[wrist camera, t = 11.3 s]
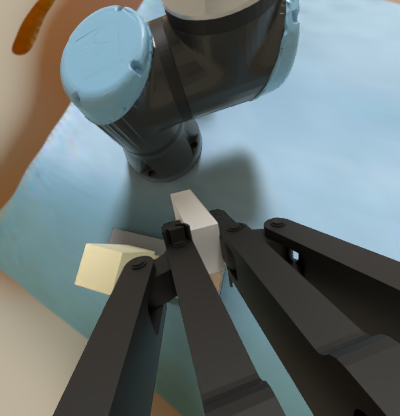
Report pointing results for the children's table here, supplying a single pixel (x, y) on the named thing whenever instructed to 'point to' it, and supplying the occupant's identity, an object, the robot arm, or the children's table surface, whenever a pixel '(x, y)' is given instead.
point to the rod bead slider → (154, 249)
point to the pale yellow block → (106, 265)
